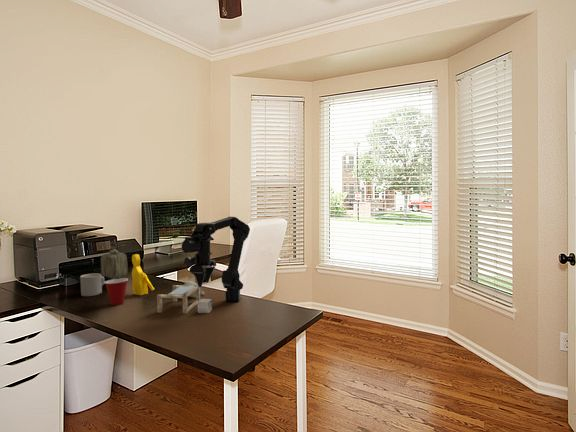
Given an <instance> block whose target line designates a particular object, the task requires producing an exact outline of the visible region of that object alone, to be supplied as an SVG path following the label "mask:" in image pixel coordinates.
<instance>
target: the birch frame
mask: <svg viewBox="0 0 576 432" xmlns="http://www.w3.org/2000/svg"><path fill="white" fill-rule="evenodd" d="M180 286H183V287H195V288H194V289H192V290H191V291H189V292H188V293H187V294H185V295H168V294H162V293H161V294H160V293H158V294H157V295H156V302H157V303H156V305H157V308H156V310H157V313H158V314H159V313H160V314H162V312H163V298H169V299H171V298H172V303H175V302H178V299H182V314H188V312H190V311H191V310H192V309H193V308H194V307H195V306H196V305H198V301H199V300H201V294H200V287H199V286H186V285H184V284H183V285H181V284H180V285H176V284H173V285H172V291H174V290H176V289H177V288H179V287H180ZM194 291H196V298H195V301H194V302H193V303H191V304H190V305H188V297H189V295H190V294H192V293H193V292H194Z"/></svg>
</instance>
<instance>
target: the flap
mask: <svg viewBox="0 0 576 432" xmlns="http://www.w3.org/2000/svg"><path fill="white" fill-rule="evenodd" d="M194 288H195V287H183V286H180V287H179V288H177V289H176V290H174V291H173V290H172V291H171V292H169V293H168V294H167V295H185V294H187V293H188V292H189V291H191V290H192V289H194Z"/></svg>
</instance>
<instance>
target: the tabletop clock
mask: <svg viewBox="0 0 576 432" xmlns="http://www.w3.org/2000/svg"><path fill="white" fill-rule="evenodd" d="M111 244H114V245H115V246H112V245H111ZM109 247H110V248H111V249H110V250H109V251H108V253H105V254H103V255H102V256H100V274H101V276H103V277H106V278H109V279H110V280H113V279H117V278H118V279H121V278H122V277H125V276H127V275H128V258H127V255H126V254H125V253H123V252H119V251H118V250H117V247H118V245H117V243H116V242H115V241H112V242H110V243H109Z"/></svg>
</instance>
